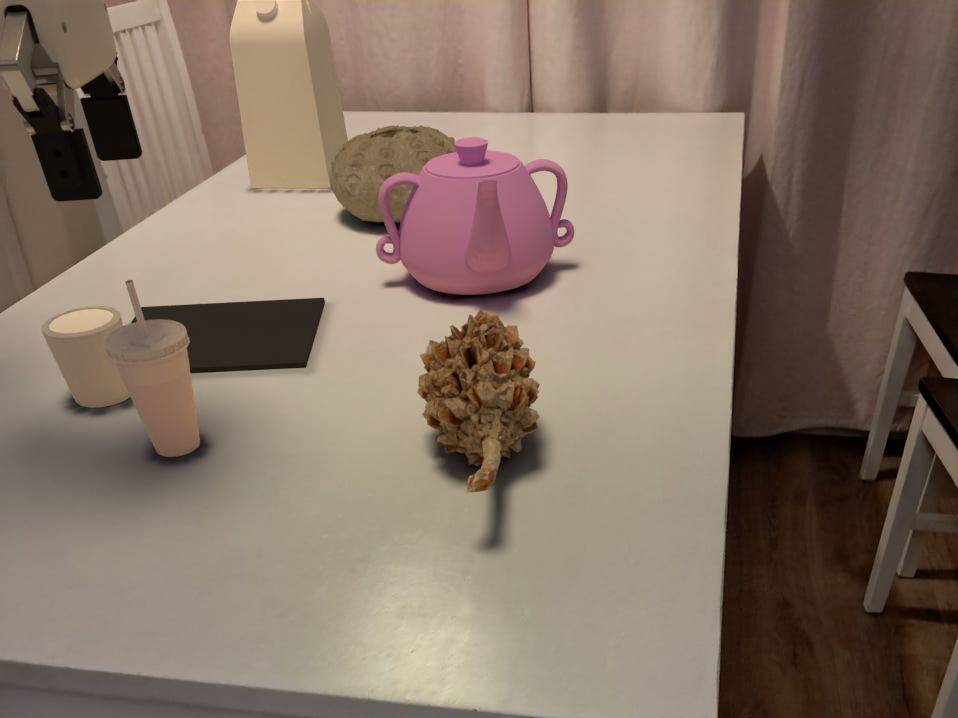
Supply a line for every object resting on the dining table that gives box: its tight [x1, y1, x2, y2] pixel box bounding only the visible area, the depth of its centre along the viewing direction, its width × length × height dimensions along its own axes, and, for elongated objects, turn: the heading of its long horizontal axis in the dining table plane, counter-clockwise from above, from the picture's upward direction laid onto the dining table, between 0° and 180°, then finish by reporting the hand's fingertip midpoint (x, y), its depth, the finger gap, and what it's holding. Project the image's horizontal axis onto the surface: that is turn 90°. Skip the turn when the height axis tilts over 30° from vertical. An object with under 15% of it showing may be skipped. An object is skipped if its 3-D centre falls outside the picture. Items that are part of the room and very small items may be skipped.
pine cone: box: [416, 308, 541, 493], centre depth 69 cm, size 22×10×10 cm, turn 6°
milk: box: [229, 0, 349, 189], centre depth 128 cm, size 12×12×26 cm
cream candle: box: [41, 305, 131, 409], centre depth 84 cm, size 7×7×7 cm
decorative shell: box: [330, 124, 457, 224], centre depth 118 cm, size 18×18×10 cm
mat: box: [129, 297, 326, 374], centre depth 94 cm, size 20×16×1 cm
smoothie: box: [104, 279, 201, 458], centre depth 73 cm, size 6×6×14 cm
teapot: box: [375, 136, 575, 296], centre depth 97 cm, size 22×22×14 cm
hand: (101, 177), depth 64 cm, fingers open, 9 cm apart
